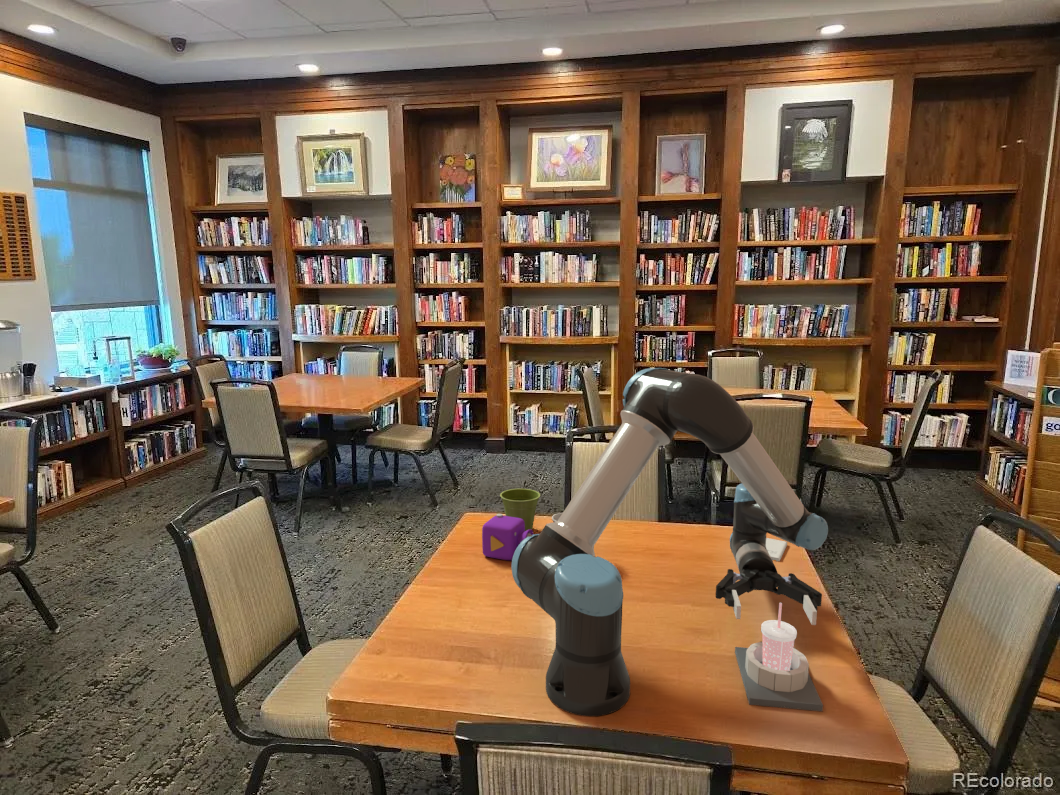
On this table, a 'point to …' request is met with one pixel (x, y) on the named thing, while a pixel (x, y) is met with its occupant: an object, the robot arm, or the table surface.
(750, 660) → the cup holder
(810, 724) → the table surface
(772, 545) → the external hard drive
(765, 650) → the beverage cup
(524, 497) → the plant pot
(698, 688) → the table surface
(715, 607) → the table surface
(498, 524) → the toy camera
